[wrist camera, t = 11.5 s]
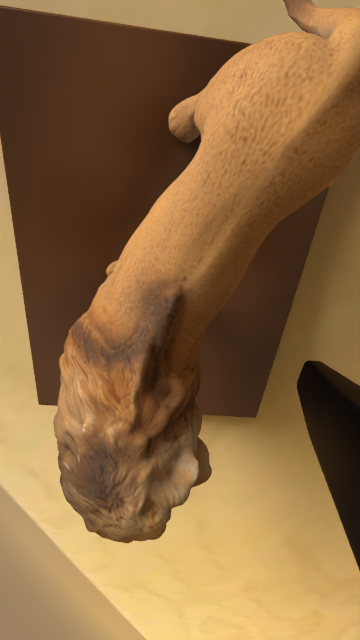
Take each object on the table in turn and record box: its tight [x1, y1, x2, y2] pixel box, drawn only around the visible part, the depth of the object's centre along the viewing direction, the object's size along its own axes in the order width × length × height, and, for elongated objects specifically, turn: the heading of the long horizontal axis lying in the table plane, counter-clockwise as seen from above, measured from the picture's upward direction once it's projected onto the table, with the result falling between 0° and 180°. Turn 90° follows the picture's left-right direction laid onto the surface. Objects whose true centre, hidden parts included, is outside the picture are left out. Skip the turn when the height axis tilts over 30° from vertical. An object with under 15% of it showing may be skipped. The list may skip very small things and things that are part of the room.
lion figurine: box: [54, 0, 360, 543], centre depth 8 cm, size 15×5×9 cm, turn 160°
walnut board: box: [0, 5, 329, 418], centre depth 14 cm, size 12×16×1 cm
